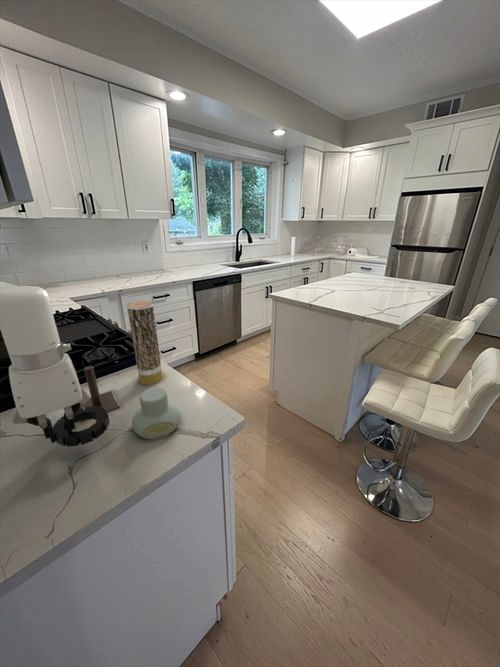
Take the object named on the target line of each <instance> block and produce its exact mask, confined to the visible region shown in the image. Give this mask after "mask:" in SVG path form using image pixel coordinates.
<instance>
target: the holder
mask: <svg viewBox="0 0 500 667" xmlns="http://www.w3.org/2000/svg"><path fill="white" fill-rule="evenodd" d="M83 372H84V375H85V378H86V379H85V380H86V383H87V387H88V391H89V397H90V400H89V401H88V402H86V403H85V404H84V405H82V406H80V408H84V409H85V407H93V406H96V408H97V407H100V408H103V409H105V410H106V411H107V413H110V412H112V411H115V410H118V409H121V406H120V405H119V404H120V403H119V402H118V400H117V399H116V397H115V394H114V393H113V390H108V391H106V392H103V393H100V391H99V387H98V386H99V385H98V383H97V382H98V381H97V378H96V374H95V370H94V366H92V365H88V366H85V367H84V368H83ZM80 408H79V409H80ZM85 421H88V419H85V420H82V421H80V422H81V423H82V422H85Z"/></svg>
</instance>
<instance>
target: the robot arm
mask: <svg viewBox="0 0 500 667" xmlns="http://www.w3.org/2000/svg"><path fill="white" fill-rule="evenodd" d="M53 312H54V311H53V308H52V304H51V300H50V297H49V294H48V292H47V290H45V289H44V288H42V287H40V286H36V285H16V284H12V283H8V282H4V281H0V332H1V333H0V334H1V336H2V339H3V341H4V345H5V348H6V350H7V354H8V356H9V359H10V362H11V364H10V365H9V366H8V377H9V383H10V388H11V392H12V397H13V401H14V404H15V409H14V413H13V416H12V423H13V424H15V425H17V424H29V425H32V426H37V427H39V428H40V429H41V430H42V431H43V434H44V437H45V440H48V439H50V442H51V444H54V443H55V442H56V440H55V436H54V432H53V428H54V427H53V426H54V425H53V424H52V420H51V419H50V418H49V417H47V414H49V413H52V412H55V411H58V410H63V411H64V412H63V413H64V414H63V416H64V420H65V424H66V427H67V431H70V432H73V430H76V425H75V424H76V423H75V424H74V421H73V418H74V414H75V413H76V412H77V411H78V409H79V408H80V406H82V405H84V404H85V403H86V402H88V401H89V400H90V397H91V396H90V394H89V393H88V392H86V390H84V389H83V388H82V386H81V384H80V381H79V378H78V375H77V371H76V368H75V366H74V364H73V361H72V359H71V357H70V356H69V354H68V352H69V351H72V345H71V343H69V342H68V343H63V342H61V340H60V336H59V335H60V334H59V331H58V327H57V324H56V320H55V316H54V313H53Z"/></svg>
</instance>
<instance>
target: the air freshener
mask: <svg viewBox="0 0 500 667" xmlns="http://www.w3.org/2000/svg"><path fill="white" fill-rule="evenodd" d="M139 402H140V407H139V408H138V409H137V411H136V412H135V413H134V415H133V416H132V420H131V426H132V429H133V431H134V432H135V434H137V435H138V436H139V437H141V438H143V439H147V440H154V439H157V438H162V437H165V436H168V435H170V434H171V433H172V432H173V431H175V430H176V429H177V427H178V426H179V425H180V424H179V423H180V421H181V411H180V409H179V408H178V406H177V405H176V404H174V403H173V402H170V401H169V400H168V393H167V390H165V389H164V388H161V387H151V388H148V389H145V390H144V391H143V392H142V393H141V394H140V396H139Z"/></svg>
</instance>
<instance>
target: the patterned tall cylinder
mask: <svg viewBox="0 0 500 667" xmlns="http://www.w3.org/2000/svg"><path fill="white" fill-rule="evenodd" d="M126 308H127V314H128V322H129V327H130V333H131V338H132V344H133V345H132V346H133V352H134V356H135V363H136V368H137V373H138V380H139V383H140V384H142V385H154V384H157V383H159V382H161V381H162V379H163V371H162V362H161V356H160V346H159V339H158V332H157V323H156V316H155V308H154V302H152V301H149V300H139V301H132V302H129V303H127V305H126Z"/></svg>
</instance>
